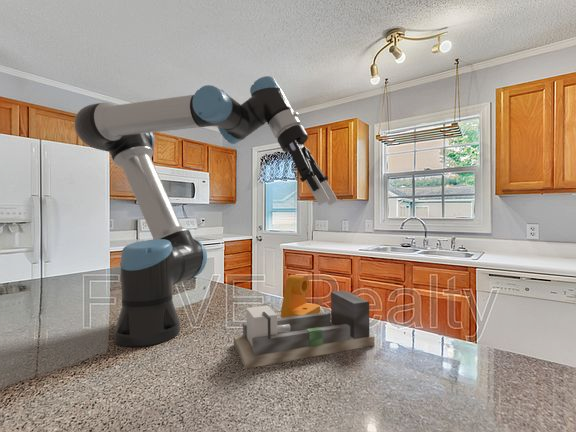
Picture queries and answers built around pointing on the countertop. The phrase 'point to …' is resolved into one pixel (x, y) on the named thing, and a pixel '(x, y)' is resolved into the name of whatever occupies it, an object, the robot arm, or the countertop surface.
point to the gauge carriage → (263, 323)
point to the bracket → (297, 298)
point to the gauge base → (311, 334)
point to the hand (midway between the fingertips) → (329, 202)
